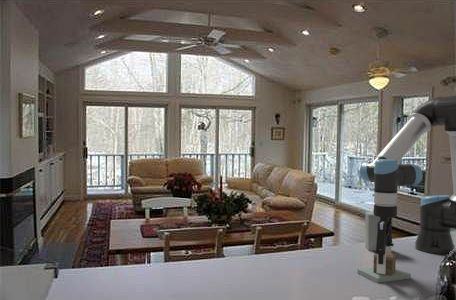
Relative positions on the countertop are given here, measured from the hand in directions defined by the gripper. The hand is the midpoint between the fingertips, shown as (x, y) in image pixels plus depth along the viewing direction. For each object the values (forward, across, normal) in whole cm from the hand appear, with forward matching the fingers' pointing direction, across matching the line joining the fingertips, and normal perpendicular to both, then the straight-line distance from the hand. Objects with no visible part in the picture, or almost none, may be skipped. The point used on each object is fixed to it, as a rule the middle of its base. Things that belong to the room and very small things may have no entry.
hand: (383, 268), depth 144 cm
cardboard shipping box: (+1, 0, 0) cm, 1 cm away
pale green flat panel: (+2, 0, 0) cm, 2 cm away
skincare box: (+3, -35, -9) cm, 36 cm away
